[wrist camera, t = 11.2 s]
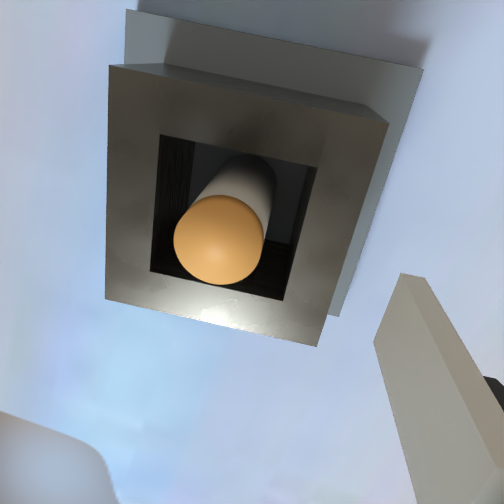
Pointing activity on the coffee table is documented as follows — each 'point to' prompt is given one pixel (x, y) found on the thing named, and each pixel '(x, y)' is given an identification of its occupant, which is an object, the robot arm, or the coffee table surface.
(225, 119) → the hollow square block
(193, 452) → the coffee table surface
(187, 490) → the coffee table surface
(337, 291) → the keeper
